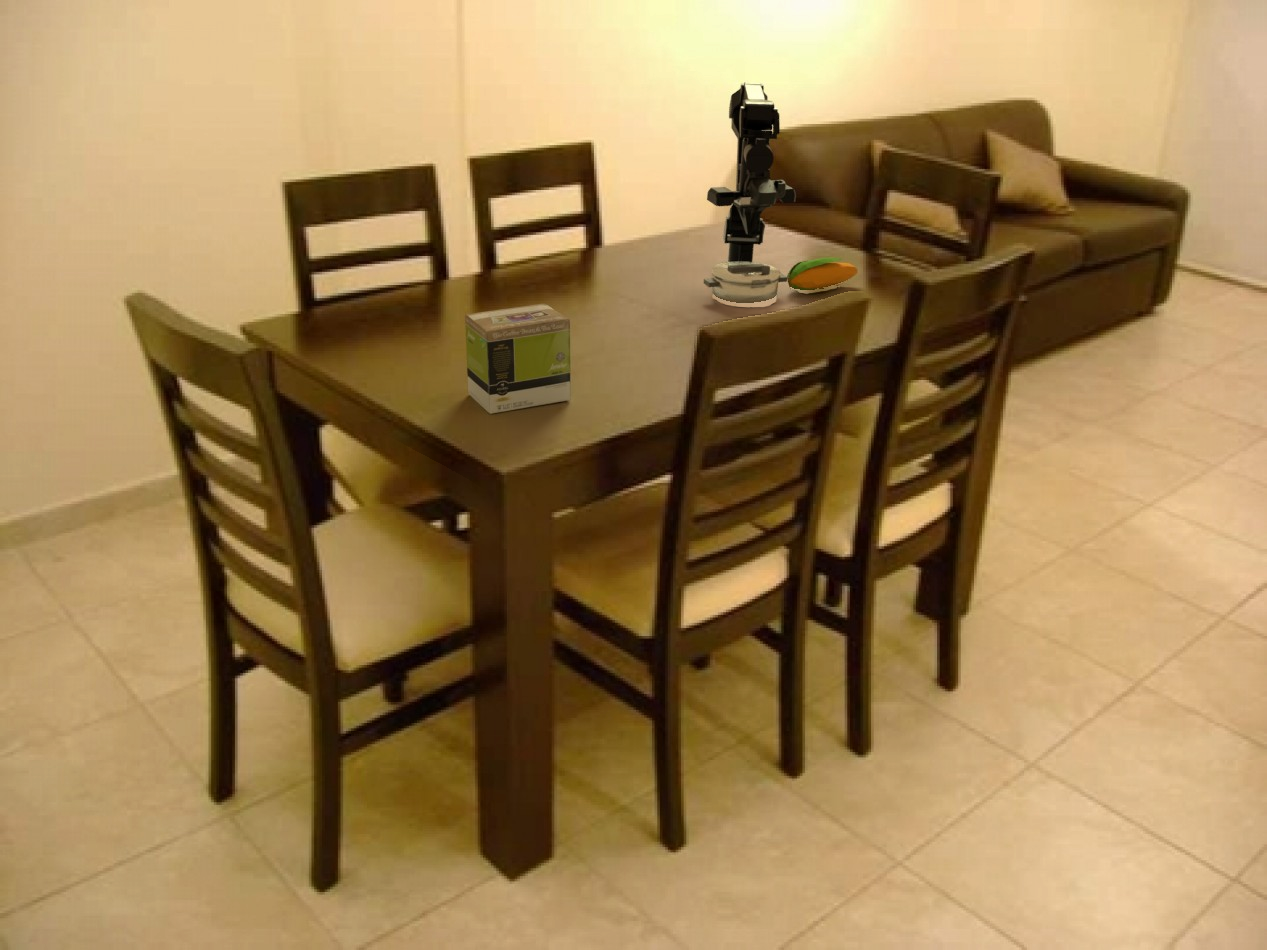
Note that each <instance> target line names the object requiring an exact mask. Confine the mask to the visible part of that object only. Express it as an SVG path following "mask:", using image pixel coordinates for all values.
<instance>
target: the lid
mask: <svg viewBox="0 0 1267 950" xmlns="http://www.w3.org/2000/svg"><path fill="white" fill-rule="evenodd" d="M724 262H725V261H724ZM711 274H712V277H713V276H714V277H715V278H717V279H719V280H722V281H726V282H730V283H736V284H746V285H762V284H770V283H773V282H776V281H778V280H779V279H780V274H782V273H781V271H780V269H779V268H777V267H776V266H772V265H769V264H766V263H761V262H754V261H752V262H742V261H737V262H728V261H726V262H725V263H723V262H722V263H717V264H715V265H714V266H712V271H711Z"/></svg>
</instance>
